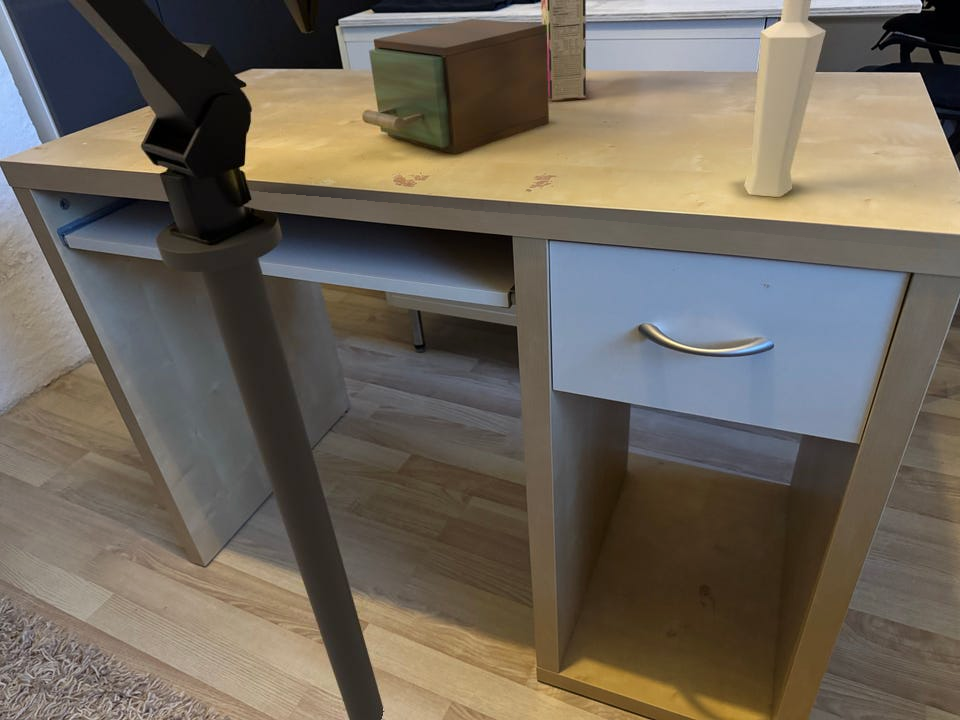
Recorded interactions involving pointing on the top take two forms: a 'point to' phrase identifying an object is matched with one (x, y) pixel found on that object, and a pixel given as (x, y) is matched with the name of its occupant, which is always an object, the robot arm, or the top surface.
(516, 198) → the top surface
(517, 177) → the top surface
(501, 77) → the cabinet
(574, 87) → the candy bar box
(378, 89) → the drawer
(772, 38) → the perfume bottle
